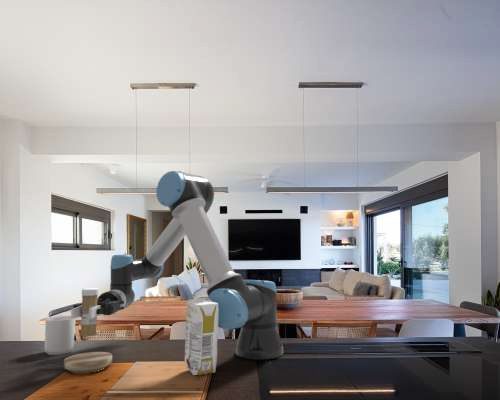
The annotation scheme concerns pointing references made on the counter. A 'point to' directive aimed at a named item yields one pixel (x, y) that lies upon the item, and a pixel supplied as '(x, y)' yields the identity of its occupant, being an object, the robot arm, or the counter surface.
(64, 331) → the mug
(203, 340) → the juice carton
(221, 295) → the robot arm
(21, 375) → the counter surface
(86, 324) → the spice jar
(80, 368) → the disc
